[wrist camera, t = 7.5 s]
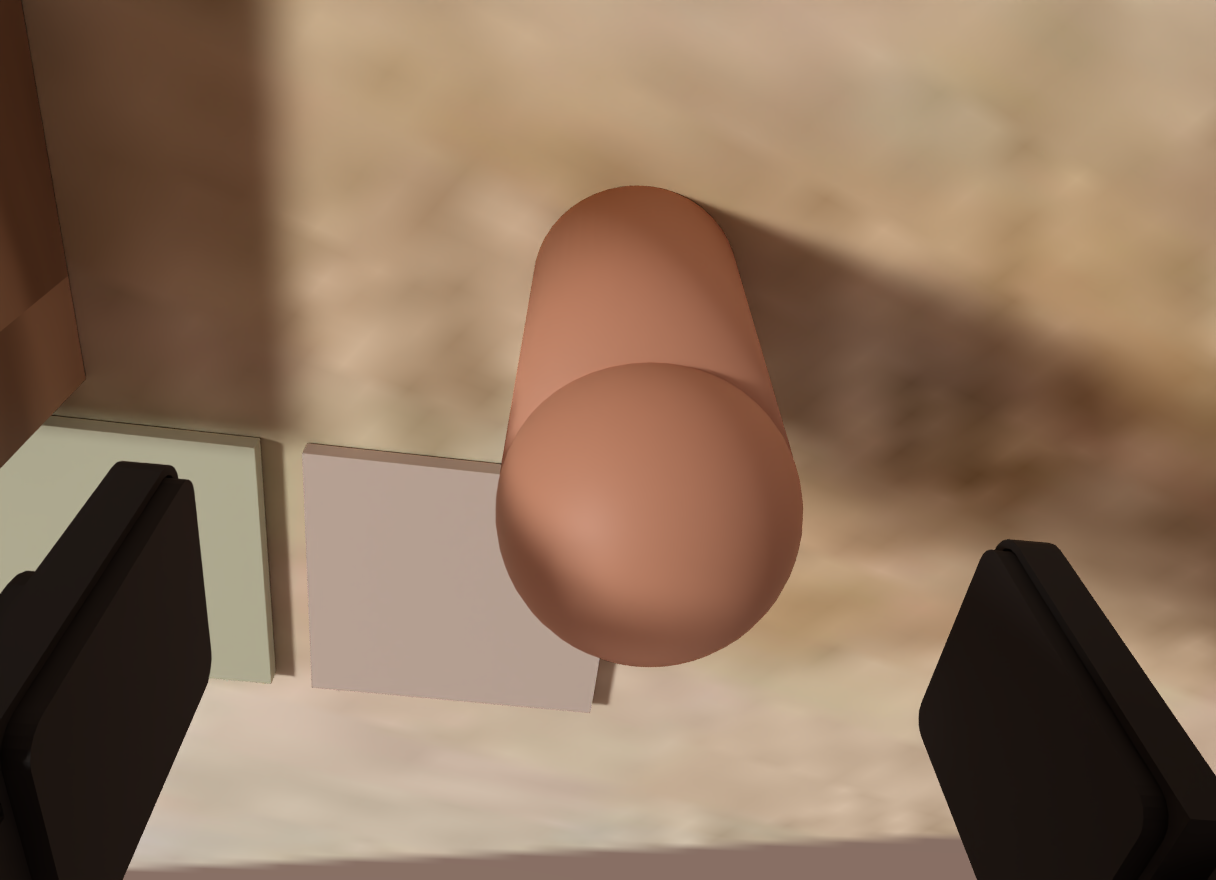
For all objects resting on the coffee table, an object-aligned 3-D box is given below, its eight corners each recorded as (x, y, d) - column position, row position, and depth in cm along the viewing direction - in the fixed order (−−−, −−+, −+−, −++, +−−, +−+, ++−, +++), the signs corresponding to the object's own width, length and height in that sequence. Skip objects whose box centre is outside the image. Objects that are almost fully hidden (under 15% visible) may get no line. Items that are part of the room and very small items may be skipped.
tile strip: (628, 478, 22) (628, 488, 21) (590, 701, 25) (590, 712, 25) (-485, 357, 20) (-504, 366, 20) (-354, 614, 24) (-368, 625, 23)
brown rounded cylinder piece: (756, 199, 18) (872, 489, 10) (716, 386, 20) (786, 748, 12) (543, 172, 18) (491, 447, 10) (524, 364, 20) (468, 720, 12)
